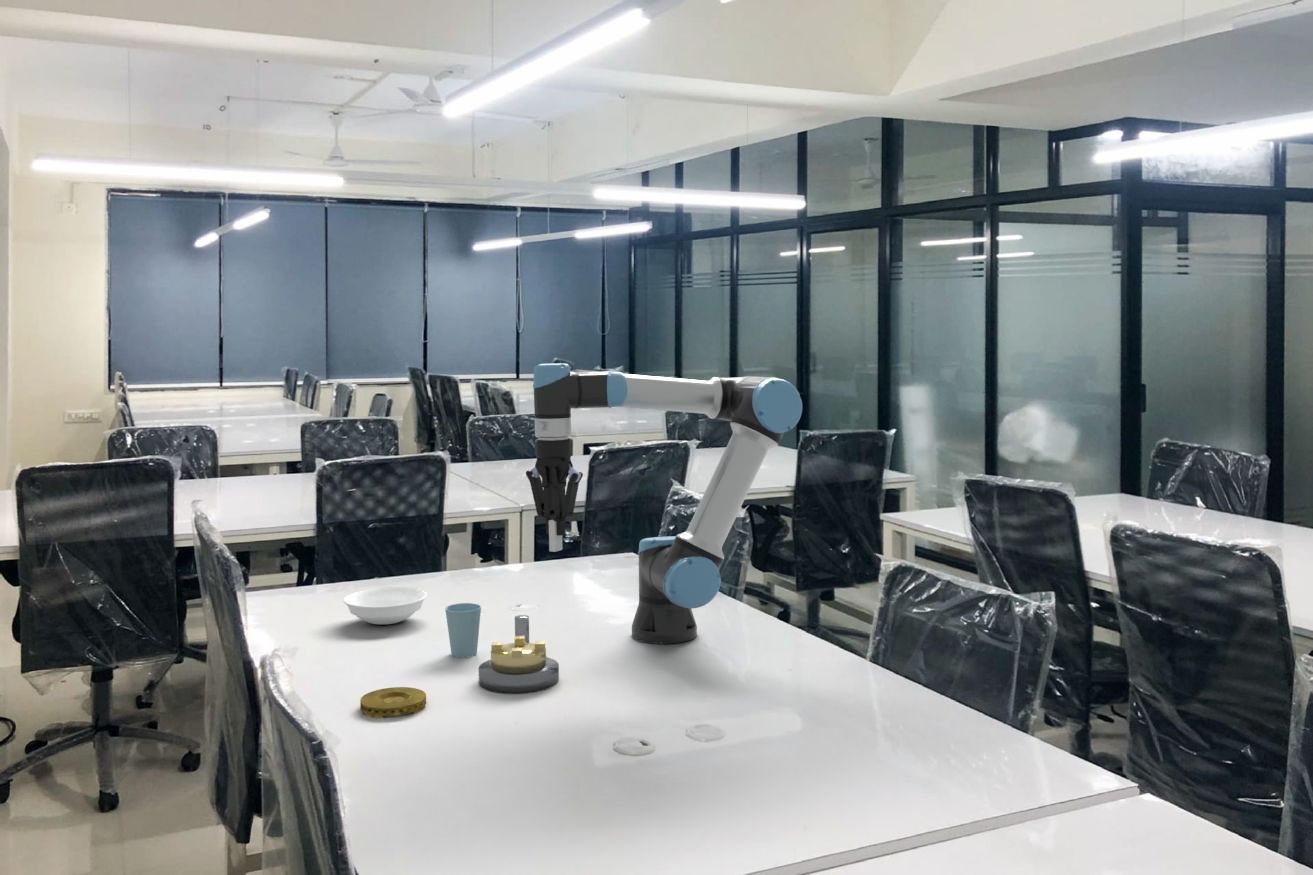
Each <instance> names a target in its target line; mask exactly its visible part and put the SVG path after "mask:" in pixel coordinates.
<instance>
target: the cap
mask: <svg viewBox="0 0 1313 875" xmlns="http://www.w3.org/2000/svg"><path fill="white" fill-rule="evenodd" d="M559 667H560V665H559V663H558V661H557V660H555V659H553V658H550V657H548V656H546V666H545V667H544V668H542V669H540V670H537V671H533V672H528V673H503V672H498V671H495V670H493V669H492V667H491V659H488V660H486V661H484V662H482V663H481V664H479V666H478V684H479V687H480V688H481V689H483V690H485V691H488V692H491V693H494V694H495V693H496V694H502V695H504V694H505V695H523V694H524V695H525V694H532V693H538V692H542V691H545V690H549V689H550V688H551V689H552V688H553V687H555V686H556V685H558V684H559V681H560V668H559Z"/></svg>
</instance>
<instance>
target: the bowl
mask: <svg viewBox="0 0 1313 875" xmlns="http://www.w3.org/2000/svg"><path fill="white" fill-rule="evenodd" d="M427 597H428V594H427V592H426V591H424V590H422V589H418V588H412V587H400V586H399V587H394V586H393V587H378V588H369V589H364V590H360V591H356V592H352V593H350V594H348V595H346V596H345V597H343V599H342V600H343V601H342V602H343V603H344V604H345V605H346V606H347V608H348V610H349V613H350V614H351V615H353V616H356V618H358V619H360V620H362V621H364V622H366V623H368V624H372V625H390V624H397V623H400V622H403V621H405V620H407V619H409V618H410V617H411V616H413V615H414V614H415V613H416V612H418V611H419V610H421V608H422V605H423V603H424V601H425V600H426V599H427Z"/></svg>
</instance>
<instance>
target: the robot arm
mask: <svg viewBox="0 0 1313 875" xmlns="http://www.w3.org/2000/svg"><path fill="white" fill-rule="evenodd" d="M570 369H571V367H570V365H569V364H568V363H562V362H560V363H539V364H536V365H535V366H534V368H533V384H532V388H533V401H534V402H533V404H534V405H533V408H534V436H535V437H536V439H535V440H534V449H535V450H534V451H535V452H534V454H535V456H536V461H535V464H534V467H533V468H532V469H529V470H526V472H525V475H526V477H527V479H528V481H529V484H530V487H531V493H532V497H533V502H534V505H535V506H534V507H535V510H536V515H537V516H538V517H543V518H544V520H545V533H546V535H548V538H549V539H548V550H549V552H554V553H555V552H559V551H562V550H563V549H564V548H563V536H564V535H565V534H566V521H565V520H566V519H568V518H570V517H572V516H574V511H575V506H576V502H577V501H576V500H577V495H578V490H579V483H580V482H581V480H582V479H583V475H584V474H583V472H582V471H578V470H576V469H575V468H574V466H573V462H572V460H571V458H572V452H573V451H572V447H573V446H572V440H571V438H569V437H571V435H572V414H571V412H572V409H596V408H597V409H599V408H608V409H612V408H627V409H628V408H629V409H639V410H640V409H642V410H643V409H644V410H652V411H653V410H654V411H668V412H677V413H678V412H679V413H680V412H681V413H691V414H692V413H693V414H702V415H706V416H707V418H708V419H711V420H712V419H713V420H722V421H726V422H729V423H730V424H729V425H730V428H731V431H732V434H731V437H730V439H729V441H728V443H727V445H726V448H725V449H724V451H723V453H722V455H721V457H720V459H719V461H718V464H717V465H716V467H715V471H714V472H713V475H712V476H711V479H710V481H709V482H708V485H707V487H706V489H705V491H704V493H703V496H702V498H701V499H700V501H699V504H698V505H697V508H696V510H695V513H694V514H693V517H692V519H691V521H690V522H689V524H688V527H687V529H686V530H685V531H684V532H681V533H678V534H676V535H675V536H655V537H646V538H643V539H640V541H639V544H638V545H639V546H638V552H637V556H638V604H637V607H636V611H635V614H634V617H633V621H632V624H631V637H632V638H633V639H634V640H637V641H640V642H643V643H649V644H656V645H658V644H662V645H663V644H664V645H666V644H667V645H668V644H669V645H670V644H679V643H685V641H686V642H689V641H692V640H693V639H696V638H697V636H698V626H697V622H696V619H695V615H694V613H693V609H698V608H701V607H704V606H706V605H708V604H709V603H710V602H711V601H713V600H714V599H715V597H716V596H717V594H718V592H719V590H720V587H721V583H722V582H721V581H722V578H721V574H720V568H721V566H722V564H723V562H724V559H725V555H724V552H723V550H722V549H723V546H724V543H725V541H726V539H727V537H728V535H729V533H730V531H731V529H732V527H733V525H734V522H735V520H736V519H737V517H738V514H739V513H740V510H741V508H742V505H743V503H744V502H745V500H746V498H747V495H748V493H749V491H750V489H751V486H752V484H753V483H754V480H755V478H756V476H757V474H758V472H759V470H760V468H761V466H762V464H763V461H764V459H765V458H766V455H767V452H768V451H769V450H771V449H774V448H777V447H778V446H779V444H780V442H781V440H782V438H783V436H784V433H787V432H789V431H791V430H792V429H793V428H794V427H796V426H797V424H798V423H799V421H800V419H801V416H802V414H803V401H802V398H801V396H800V395H801V394H800V393H799V391H798V389H797V387H796V386H795V385H793V384H792V383H791V382H789V381H788V380H785V379H783V378H782V379H781V378H779V377H775V376H769V377H767V376H757V375H754V376H753V375H750V376H748V375H747V376H737V377H736V376H735V377H716V376H713V377H712V378H710V379H709V380H701V379H700V380H699V379H691V378H690V379H688V378H677V377H667V376H654V375H653V376H652V375H643V374H632V373H624V372H621V371H612V370H608V371H599V370H598V371H597V370H586V369H581V368H580V369H578V368H577V369H575V370H570ZM567 478H568V482H567Z"/></svg>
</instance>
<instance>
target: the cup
mask: <svg viewBox="0 0 1313 875" xmlns="http://www.w3.org/2000/svg"><path fill="white" fill-rule="evenodd" d="M481 612H482V606H481V605H480V604H478V603H473V602H461V603H460V602H459V603H453V604H449V605H446V607H445V616H446V623H447V631H448V638H449V647H450V653H451V655H452V657H455V658H469V657H472V656H476V655H477V654H478V645H479V644H478V643H479V633H480V624H481V623H480V621H481Z"/></svg>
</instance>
